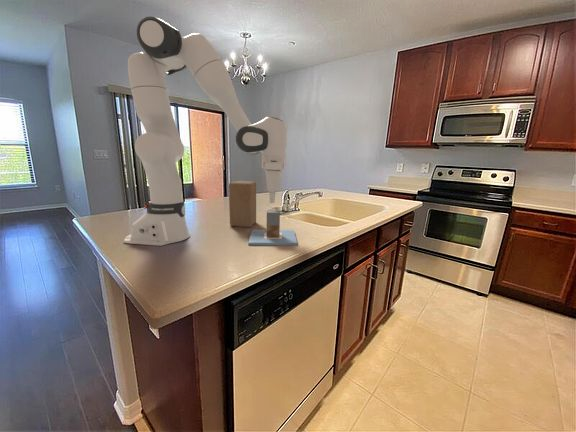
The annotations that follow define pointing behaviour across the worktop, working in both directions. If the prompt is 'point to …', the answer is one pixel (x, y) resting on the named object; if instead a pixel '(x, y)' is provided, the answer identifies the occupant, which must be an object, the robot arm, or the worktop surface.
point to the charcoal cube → (273, 217)
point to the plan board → (261, 238)
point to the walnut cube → (273, 231)
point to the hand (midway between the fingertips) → (272, 200)
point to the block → (242, 203)
